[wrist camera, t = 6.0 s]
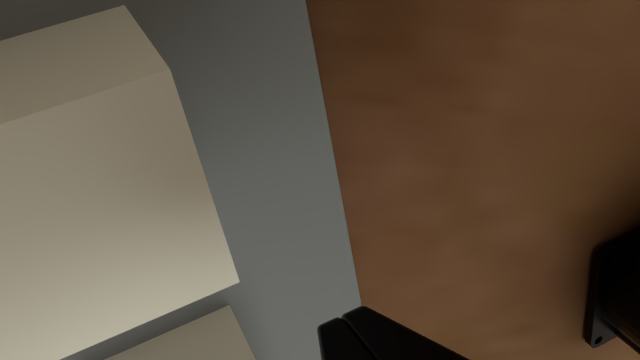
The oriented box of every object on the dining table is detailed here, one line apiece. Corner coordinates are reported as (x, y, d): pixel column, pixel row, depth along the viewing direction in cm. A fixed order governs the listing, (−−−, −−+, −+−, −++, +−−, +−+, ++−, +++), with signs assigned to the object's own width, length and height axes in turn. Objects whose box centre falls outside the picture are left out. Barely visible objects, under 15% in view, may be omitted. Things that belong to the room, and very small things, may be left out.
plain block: (185, 178, 17) (239, 281, 13) (1, 247, 16) (0, 385, 12) (124, 4, 14) (169, 69, 10) (-104, 70, 13) (-150, 173, 9)
